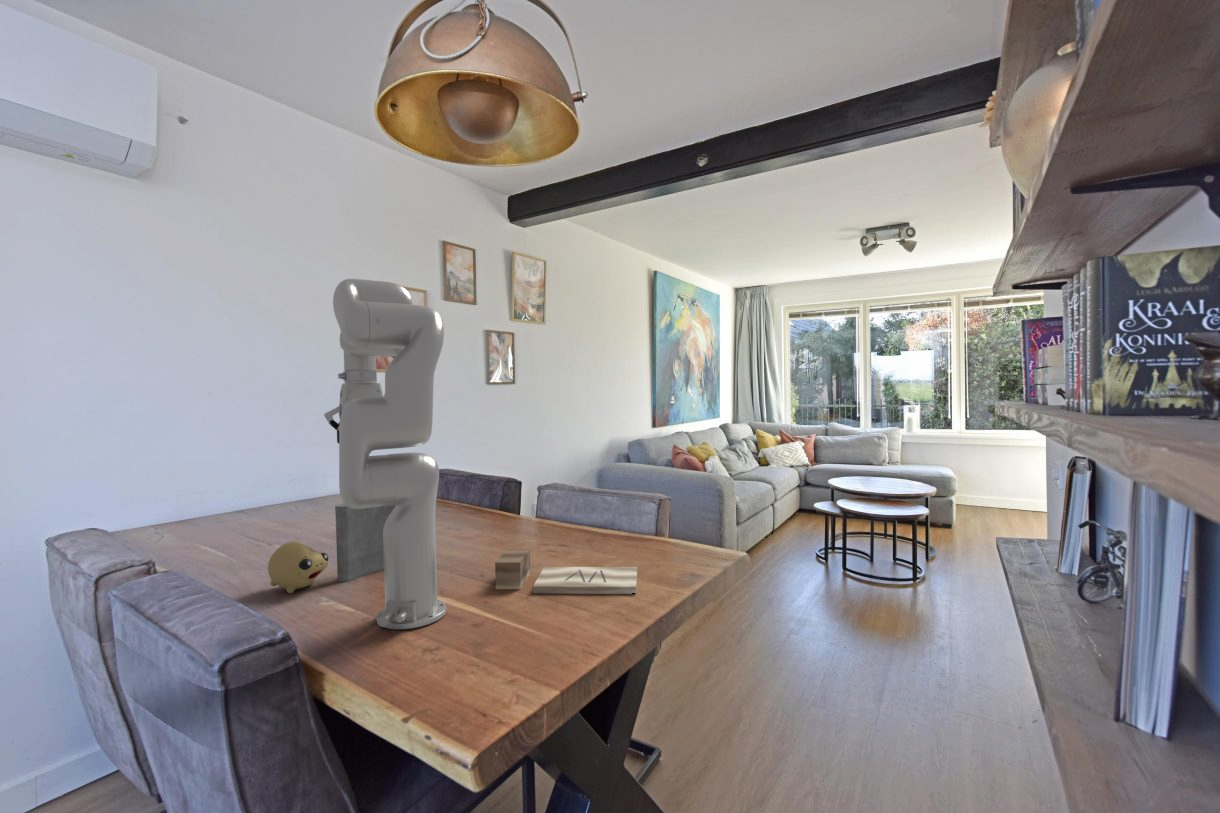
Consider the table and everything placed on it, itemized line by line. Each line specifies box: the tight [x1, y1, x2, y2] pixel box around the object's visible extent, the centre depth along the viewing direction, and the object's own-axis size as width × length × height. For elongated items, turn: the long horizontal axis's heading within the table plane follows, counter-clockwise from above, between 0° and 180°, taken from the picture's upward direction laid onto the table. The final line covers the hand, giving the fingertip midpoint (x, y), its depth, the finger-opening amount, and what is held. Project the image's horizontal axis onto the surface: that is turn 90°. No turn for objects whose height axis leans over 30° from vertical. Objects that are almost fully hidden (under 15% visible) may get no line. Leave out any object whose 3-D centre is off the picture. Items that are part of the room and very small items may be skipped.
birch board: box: [532, 566, 638, 595], centre depth 123 cm, size 13×22×2 cm, turn 86°
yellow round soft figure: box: [267, 540, 329, 594], centre depth 122 cm, size 10×12×11 cm
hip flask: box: [335, 503, 396, 583], centre depth 133 cm, size 16×4×20 cm, turn 145°
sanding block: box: [494, 548, 531, 590], centre depth 125 cm, size 10×6×6 cm, turn 176°
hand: (362, 444), depth 141 cm, fingers open, 9 cm apart
